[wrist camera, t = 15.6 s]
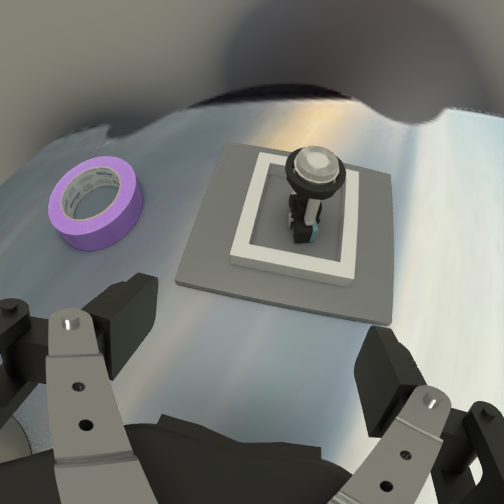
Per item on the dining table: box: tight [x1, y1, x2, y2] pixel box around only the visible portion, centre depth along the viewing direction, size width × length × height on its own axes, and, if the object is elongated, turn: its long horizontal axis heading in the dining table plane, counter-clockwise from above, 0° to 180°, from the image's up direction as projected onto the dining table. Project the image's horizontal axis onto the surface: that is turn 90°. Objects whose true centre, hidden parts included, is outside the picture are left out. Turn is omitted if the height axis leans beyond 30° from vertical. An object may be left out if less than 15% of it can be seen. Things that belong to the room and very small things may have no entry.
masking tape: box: [48, 156, 143, 251], centre depth 35 cm, size 12×12×4 cm
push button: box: [285, 146, 346, 243], centre depth 31 cm, size 7×5×10 cm
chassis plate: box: [175, 142, 394, 326], centre depth 35 cm, size 22×20×3 cm
